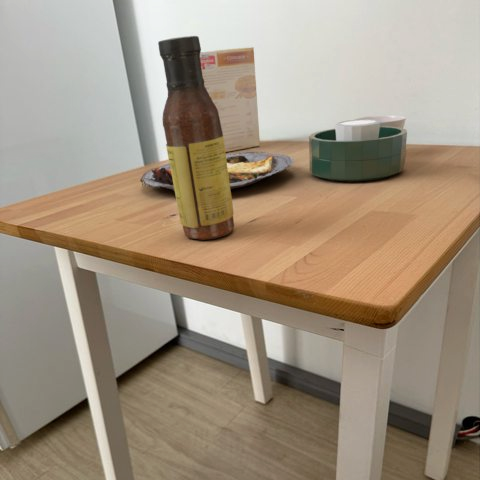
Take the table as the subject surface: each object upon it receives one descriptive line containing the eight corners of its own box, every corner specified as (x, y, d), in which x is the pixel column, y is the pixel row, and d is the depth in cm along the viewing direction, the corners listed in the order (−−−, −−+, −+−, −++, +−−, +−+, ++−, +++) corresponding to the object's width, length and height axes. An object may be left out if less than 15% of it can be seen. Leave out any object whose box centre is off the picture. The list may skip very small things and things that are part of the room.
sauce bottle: (240, 224, 57) (223, 34, 48) (227, 242, 52) (206, 32, 42) (189, 224, 59) (163, 40, 49) (172, 242, 54) (139, 40, 44)
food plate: (115, 196, 75) (110, 174, 74) (189, 165, 93) (187, 146, 91) (258, 203, 65) (256, 177, 63) (311, 166, 83) (310, 145, 81)
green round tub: (349, 160, 85) (350, 124, 82) (422, 168, 75) (426, 128, 72) (291, 176, 77) (290, 137, 74) (363, 188, 67) (365, 144, 64)
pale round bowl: (353, 152, 91) (354, 117, 88) (402, 150, 88) (405, 114, 85) (349, 162, 83) (350, 123, 80) (403, 160, 81) (406, 121, 78)
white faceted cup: (341, 164, 80) (341, 119, 76) (382, 164, 77) (385, 118, 73) (329, 173, 74) (329, 126, 71) (373, 174, 72) (375, 124, 68)
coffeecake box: (245, 143, 111) (237, 48, 102) (261, 146, 106) (255, 46, 96) (187, 153, 105) (174, 53, 96) (201, 157, 100) (189, 51, 90)
